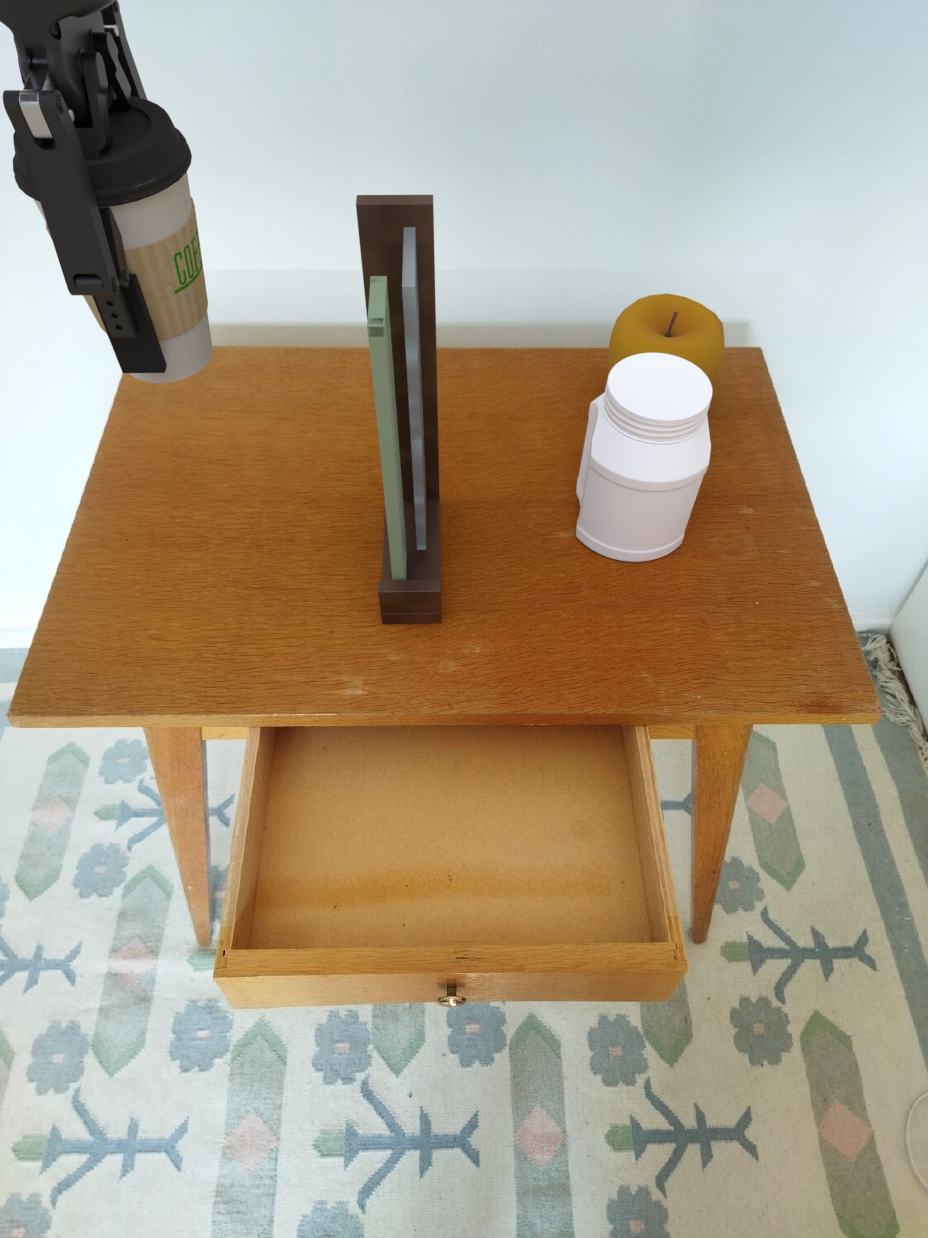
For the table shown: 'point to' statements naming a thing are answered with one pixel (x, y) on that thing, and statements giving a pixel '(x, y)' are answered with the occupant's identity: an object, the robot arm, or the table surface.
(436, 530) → the window frame
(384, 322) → the window sash
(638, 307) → the apple
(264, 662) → the table surface
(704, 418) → the jar
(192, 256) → the coffee cup
